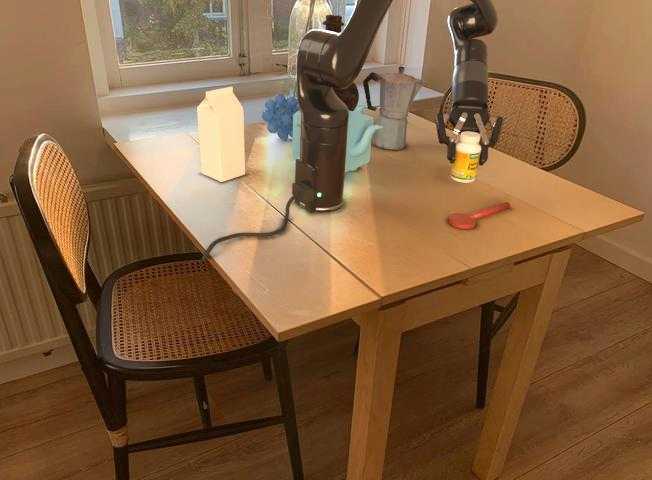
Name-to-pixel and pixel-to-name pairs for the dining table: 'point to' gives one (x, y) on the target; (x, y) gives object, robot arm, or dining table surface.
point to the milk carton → (221, 135)
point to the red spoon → (474, 216)
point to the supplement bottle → (466, 157)
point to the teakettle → (356, 138)
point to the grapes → (280, 115)
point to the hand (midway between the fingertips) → (467, 162)
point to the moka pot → (393, 106)
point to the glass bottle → (351, 93)
